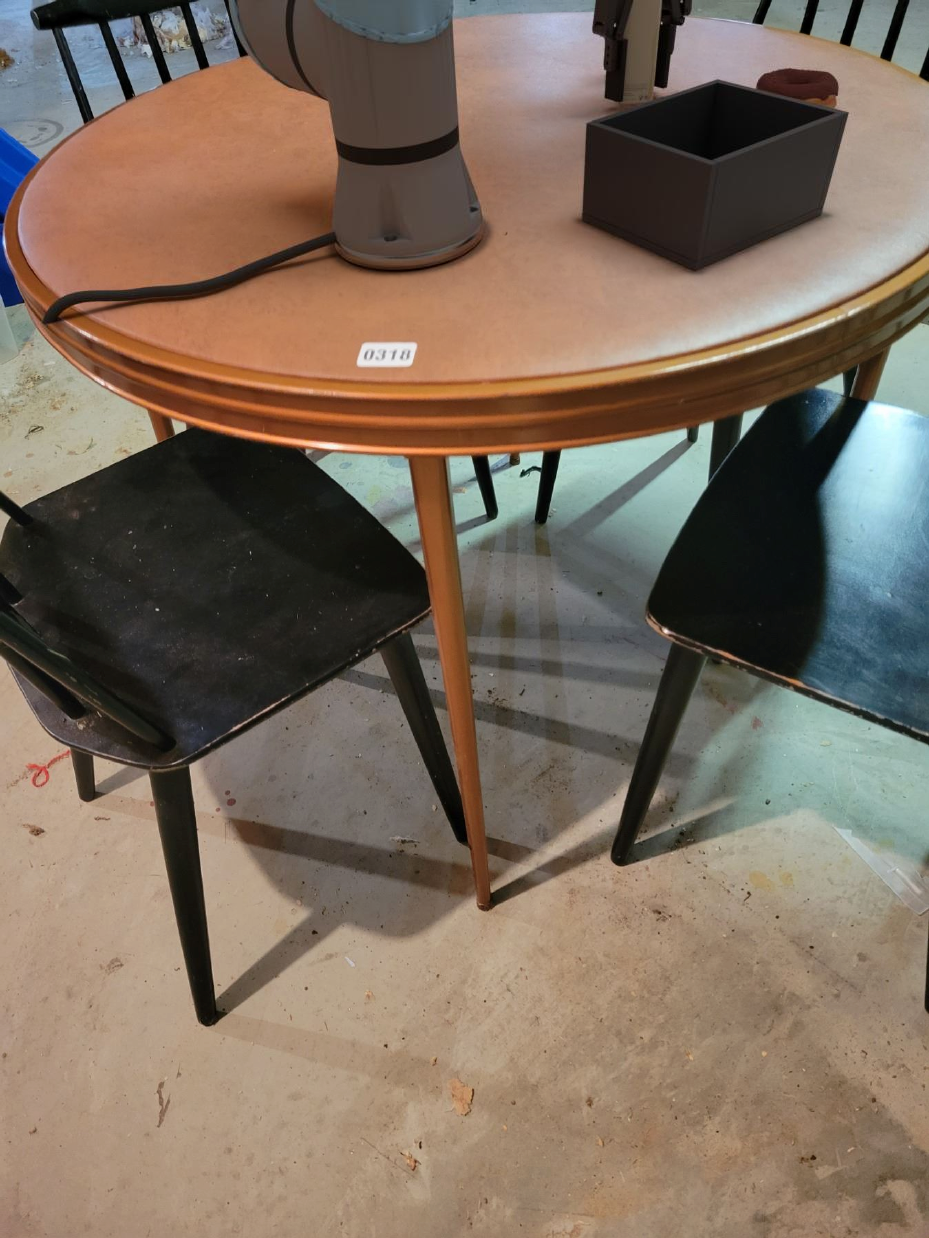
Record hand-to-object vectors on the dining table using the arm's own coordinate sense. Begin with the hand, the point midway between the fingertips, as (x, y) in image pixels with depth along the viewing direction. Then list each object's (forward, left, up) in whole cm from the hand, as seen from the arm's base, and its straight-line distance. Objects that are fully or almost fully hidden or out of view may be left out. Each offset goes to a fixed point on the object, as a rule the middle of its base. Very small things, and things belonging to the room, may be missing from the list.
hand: (635, 92), depth 101 cm
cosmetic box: (0, 0, -1) cm, 1 cm away
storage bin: (-21, -31, -1) cm, 37 cm away
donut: (+10, -17, -1) cm, 20 cm away
